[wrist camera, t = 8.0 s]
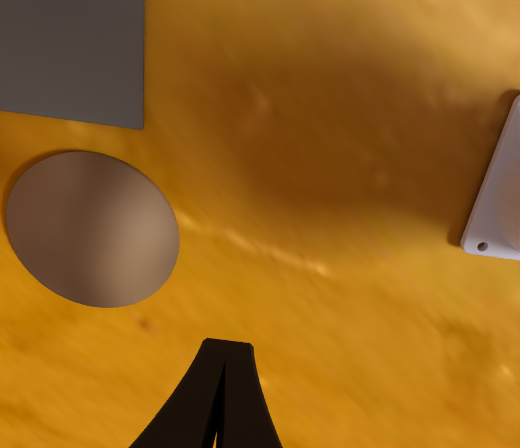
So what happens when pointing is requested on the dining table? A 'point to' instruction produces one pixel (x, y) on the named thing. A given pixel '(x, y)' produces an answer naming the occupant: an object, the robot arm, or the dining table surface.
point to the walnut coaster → (92, 229)
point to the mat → (73, 60)
